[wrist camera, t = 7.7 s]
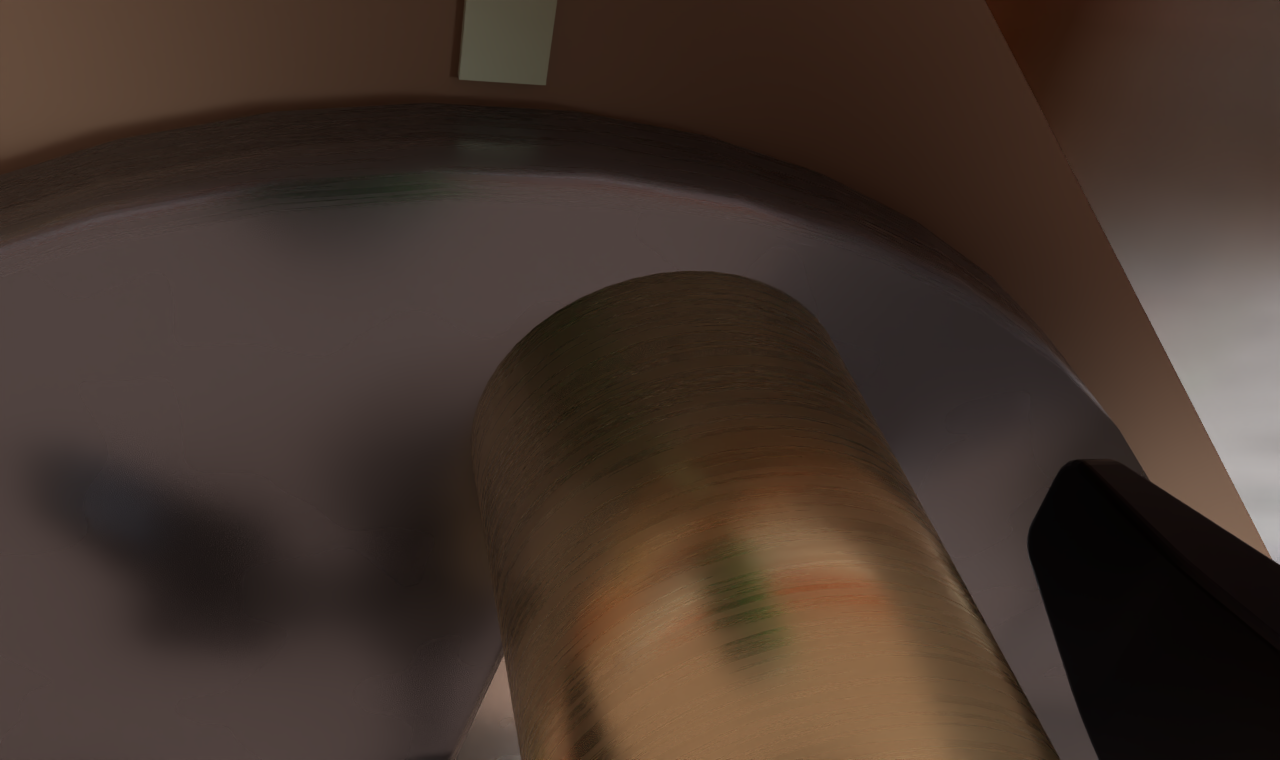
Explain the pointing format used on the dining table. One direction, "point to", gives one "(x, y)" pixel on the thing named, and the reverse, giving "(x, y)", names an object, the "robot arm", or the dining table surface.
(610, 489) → the handwheel
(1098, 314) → the wheel base
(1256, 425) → the dining table surface
